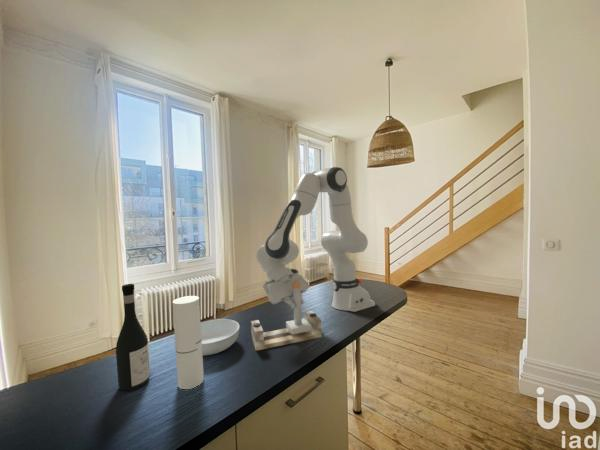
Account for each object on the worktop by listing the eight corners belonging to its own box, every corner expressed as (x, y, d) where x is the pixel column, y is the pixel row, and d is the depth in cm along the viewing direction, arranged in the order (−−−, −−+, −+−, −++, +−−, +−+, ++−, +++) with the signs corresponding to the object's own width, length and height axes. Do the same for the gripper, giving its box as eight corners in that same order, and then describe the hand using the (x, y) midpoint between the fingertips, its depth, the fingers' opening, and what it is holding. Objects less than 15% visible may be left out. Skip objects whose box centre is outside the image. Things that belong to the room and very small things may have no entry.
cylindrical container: (208, 376, 79) (204, 296, 78) (192, 392, 73) (186, 304, 71) (190, 372, 82) (185, 295, 81) (172, 387, 75) (166, 302, 74)
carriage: (304, 322, 109) (302, 277, 108) (311, 330, 101) (309, 281, 100) (286, 326, 106) (283, 279, 105) (291, 334, 99) (289, 284, 98)
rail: (312, 326, 111) (311, 309, 111) (321, 336, 102) (321, 318, 102) (251, 338, 103) (250, 320, 103) (255, 350, 93) (254, 330, 93)
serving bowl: (223, 330, 112) (222, 314, 111) (251, 346, 97) (250, 328, 97) (173, 349, 97) (171, 331, 97) (196, 371, 82) (194, 350, 82)
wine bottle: (156, 375, 81) (149, 281, 80) (137, 392, 73) (130, 288, 72) (132, 374, 82) (125, 281, 81) (111, 392, 74) (103, 288, 73)
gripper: (264, 278, 100) (283, 309, 94) (300, 268, 115) (318, 294, 109) (257, 288, 103) (275, 318, 97) (293, 277, 118) (310, 302, 112)
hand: (298, 305), depth 103 cm, fingers closed on carriage, 3 cm apart
